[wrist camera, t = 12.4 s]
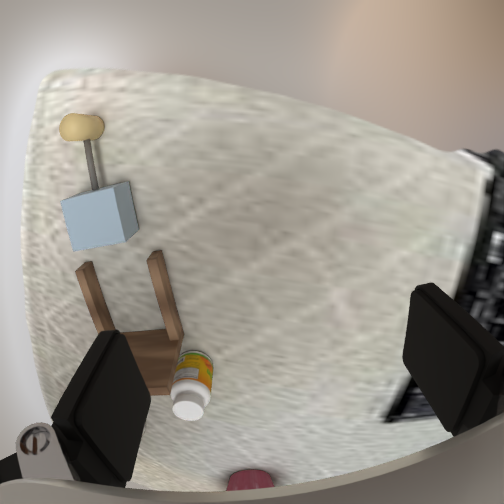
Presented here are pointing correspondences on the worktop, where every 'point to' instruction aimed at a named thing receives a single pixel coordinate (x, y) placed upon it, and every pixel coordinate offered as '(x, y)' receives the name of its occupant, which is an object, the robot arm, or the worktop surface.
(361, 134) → the worktop surface
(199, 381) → the supplement bottle
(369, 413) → the worktop surface
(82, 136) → the push plunger
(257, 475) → the plant pot
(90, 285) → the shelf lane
